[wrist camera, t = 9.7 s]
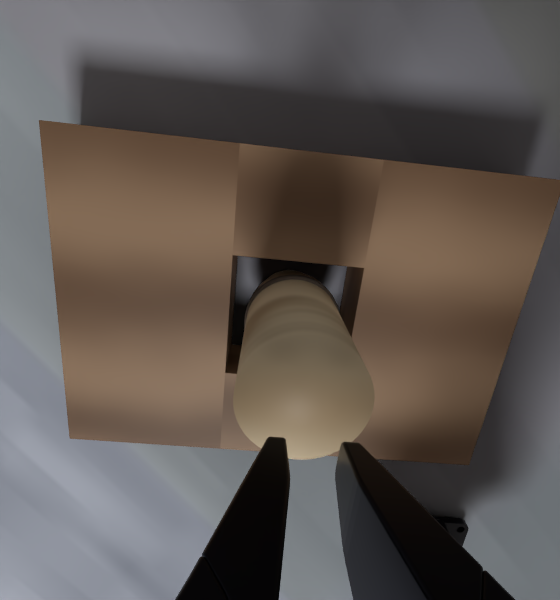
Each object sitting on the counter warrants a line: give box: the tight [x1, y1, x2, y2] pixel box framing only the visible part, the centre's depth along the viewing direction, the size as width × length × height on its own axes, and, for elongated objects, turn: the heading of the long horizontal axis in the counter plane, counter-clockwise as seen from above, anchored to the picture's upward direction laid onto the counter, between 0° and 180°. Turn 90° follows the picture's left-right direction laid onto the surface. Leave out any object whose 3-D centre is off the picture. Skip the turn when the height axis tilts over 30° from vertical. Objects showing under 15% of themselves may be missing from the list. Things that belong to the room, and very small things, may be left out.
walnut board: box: [39, 120, 560, 465], centre depth 17 cm, size 14×20×3 cm
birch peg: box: [233, 270, 375, 460], centre depth 15 cm, size 4×4×9 cm
